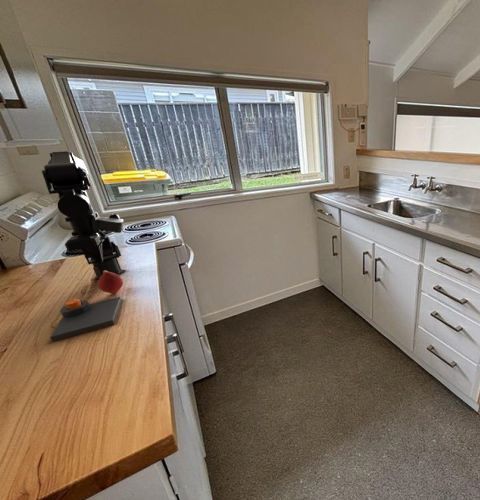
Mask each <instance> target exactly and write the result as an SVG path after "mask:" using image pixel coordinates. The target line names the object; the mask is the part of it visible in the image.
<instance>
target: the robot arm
mask: <svg viewBox="0 0 480 500" xmlns="http://www.w3.org/2000/svg"><path fill="white" fill-rule="evenodd" d="M49 156H50V159H49V160H48V161H47V164H45V165H44V166H43V168H44V169H42V170H41V173H42V177H43V179H44V182H45V186H46V188H47V191H48V194H49V195H55V194H57V195H58V201H57V209H58V211H59V212H60V214H62V215H63V216H65V218H64V220H65V222H66V223H69V224H70V227H71V229H72V232H71V237H70V238H68V239H67V241H66V242H65V243H64V246H65V249H66V251H67V252H73V251H78V250H79V251H82V253H83V256H84V258H85V260H86V262H87V264H88V265H89V266H90V265H92V266H93V267H92V269H93V272H94V275H95V276H94V279H95V280H99V279H100V277H101V276H102V275H103V271H108V272H112V273H115V274H117V275H119V276H120V275H121V274H123V273H125V272H126V269H122V268H121V265H120V263H119V260H118V259H119V258H120V257H121V256H122V253H121V251H120V248H119V245H118V244H117V243H115V242H114V241H111V238H110V237H109V236H108V235H107V234H106V233H109V232H111V233H116V234H121V233H122V231H123V229H124V219H123V218H121V217H120V215H119V214H118V213H111V214H110V215H109V216H100V214H99V213H98V212H97V211H94V209H93V206H92V204H91V201H90V198H89V195H88V193H87V191H89V190H90V188H89V187H91V186H92V184H91V182H90V178H89V177H90V174H89V172H88V169H87V167H86V165H85V163H84V161H83V159H80V158H79V157H78V156H75V155H74V154H73V152H72V151H69V150H67V151H66V150H65V151H64V150H63V151H52V152H49ZM104 232H106V233H104Z"/></svg>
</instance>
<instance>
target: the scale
mask: <svg viewBox="0 0 480 500" xmlns="http://www.w3.org/2000/svg"><path fill="white" fill-rule="evenodd" d="M80 302H81V304H82V305H81V306H79V307H77V308H74V309H68V308H67V306H66V305H64V306H62V307H61V308H60V310H59V312H60V314H61V316H62V318H61V319H60V321H59V322H58V323H57V325H56V327H55V329H54V330H53V332H52V333H51V335H50V337H49V338H50V340H51V342H52V343H53V342H55V341H60V340H63V339H67V338H70V337H74V336H78V335H81V334H85V333H88V332H92V331H96V330H99V329H104V328H106V327H109V326H113V325H115V324H116V321H117V318H118V315H119V312H120V308H121V306H122V302H123V299H122V296H116V297H113V298H109V299H105V300H101V301H98V302H97V301H96V302H94V303H90V302H89V301H88V300H86V299H83V300H82V299H81V300H80Z"/></svg>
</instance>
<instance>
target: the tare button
mask: <svg viewBox="0 0 480 500" xmlns="http://www.w3.org/2000/svg"><path fill="white" fill-rule="evenodd" d="M80 301H81V300H80V299H79V298H73V299H69V300H68V301H66V302H65V306H67V308H68V309H74V308H77V307H79V306H81V305H82V304H81V302H80Z"/></svg>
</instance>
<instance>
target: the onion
mask: <svg viewBox="0 0 480 500" xmlns="http://www.w3.org/2000/svg"><path fill="white" fill-rule="evenodd" d="M123 285H124V279H123V278H122V277H121V275H120V274H119V275H117V274H115V273H112V272H108V271H103V275H102V276H101V277H100V279H98V281H97V286H98V288H99V290H100V291H102V292H104V293H108V294H112V295H114V294H117V293H118V292H119V291H120V289H122V287H123Z"/></svg>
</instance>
